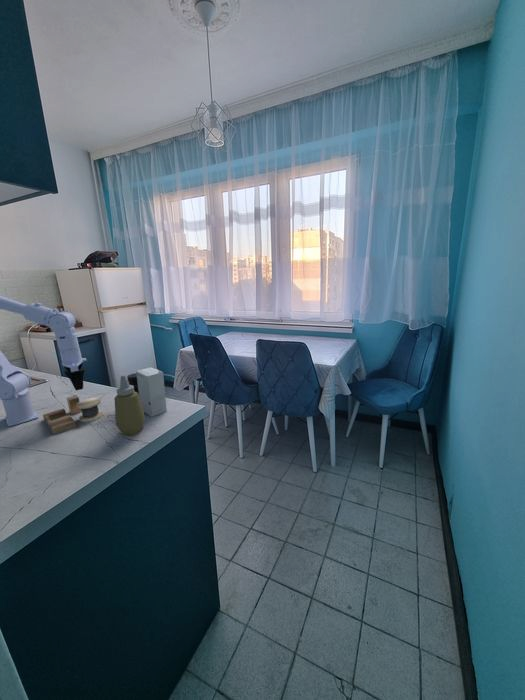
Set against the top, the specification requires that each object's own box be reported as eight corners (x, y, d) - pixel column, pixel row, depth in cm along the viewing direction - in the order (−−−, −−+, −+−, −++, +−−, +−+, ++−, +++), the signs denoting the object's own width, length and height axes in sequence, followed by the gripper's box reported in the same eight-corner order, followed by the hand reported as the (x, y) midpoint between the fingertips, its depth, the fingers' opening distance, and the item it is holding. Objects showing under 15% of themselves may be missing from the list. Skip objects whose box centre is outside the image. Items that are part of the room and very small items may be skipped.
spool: (76, 417, 99) (73, 402, 97) (99, 410, 103) (96, 396, 102) (83, 424, 94) (79, 408, 92) (106, 416, 99) (103, 401, 97)
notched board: (44, 419, 98) (42, 414, 97) (64, 413, 102) (63, 408, 101) (53, 434, 88) (52, 428, 88) (76, 426, 92) (74, 421, 92)
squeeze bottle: (113, 432, 88) (103, 377, 84) (139, 422, 94) (131, 369, 89) (124, 441, 83) (114, 383, 78) (151, 430, 89) (142, 375, 84)
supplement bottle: (141, 411, 102) (136, 379, 98) (124, 409, 103) (119, 378, 100) (152, 402, 108) (148, 372, 105) (136, 401, 109) (131, 371, 106)
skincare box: (140, 410, 102) (134, 370, 98) (156, 404, 106) (150, 366, 103) (152, 417, 97) (146, 375, 93) (168, 410, 101) (163, 370, 97)
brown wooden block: (69, 412, 103) (66, 397, 102) (79, 409, 105) (76, 395, 104) (72, 414, 101) (68, 400, 99) (81, 411, 103) (78, 397, 102)
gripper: (84, 349, 93) (94, 389, 96) (81, 342, 104) (89, 377, 108) (58, 354, 89) (69, 395, 92) (58, 346, 100) (67, 382, 104)
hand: (78, 386), depth 100 cm, fingers open, 7 cm apart
